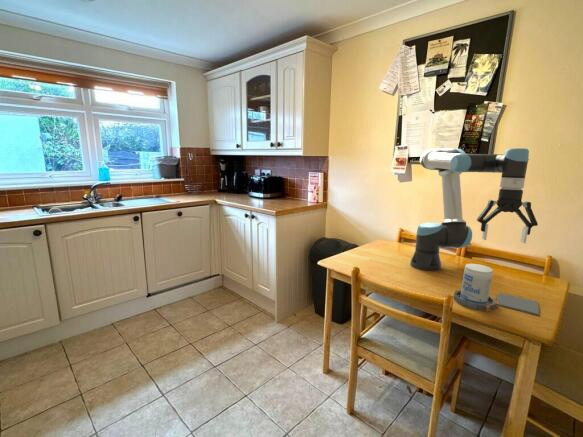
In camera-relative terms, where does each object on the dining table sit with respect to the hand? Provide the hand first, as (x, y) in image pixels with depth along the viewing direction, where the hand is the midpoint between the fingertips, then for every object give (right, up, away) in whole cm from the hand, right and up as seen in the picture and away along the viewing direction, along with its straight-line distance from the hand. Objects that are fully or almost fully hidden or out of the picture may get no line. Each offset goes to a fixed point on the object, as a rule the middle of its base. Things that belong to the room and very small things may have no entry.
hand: (503, 240), depth 121 cm
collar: (-13, -25, -1) cm, 28 cm away
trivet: (+4, -25, -2) cm, 25 cm away
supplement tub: (-13, -25, -1) cm, 28 cm away
